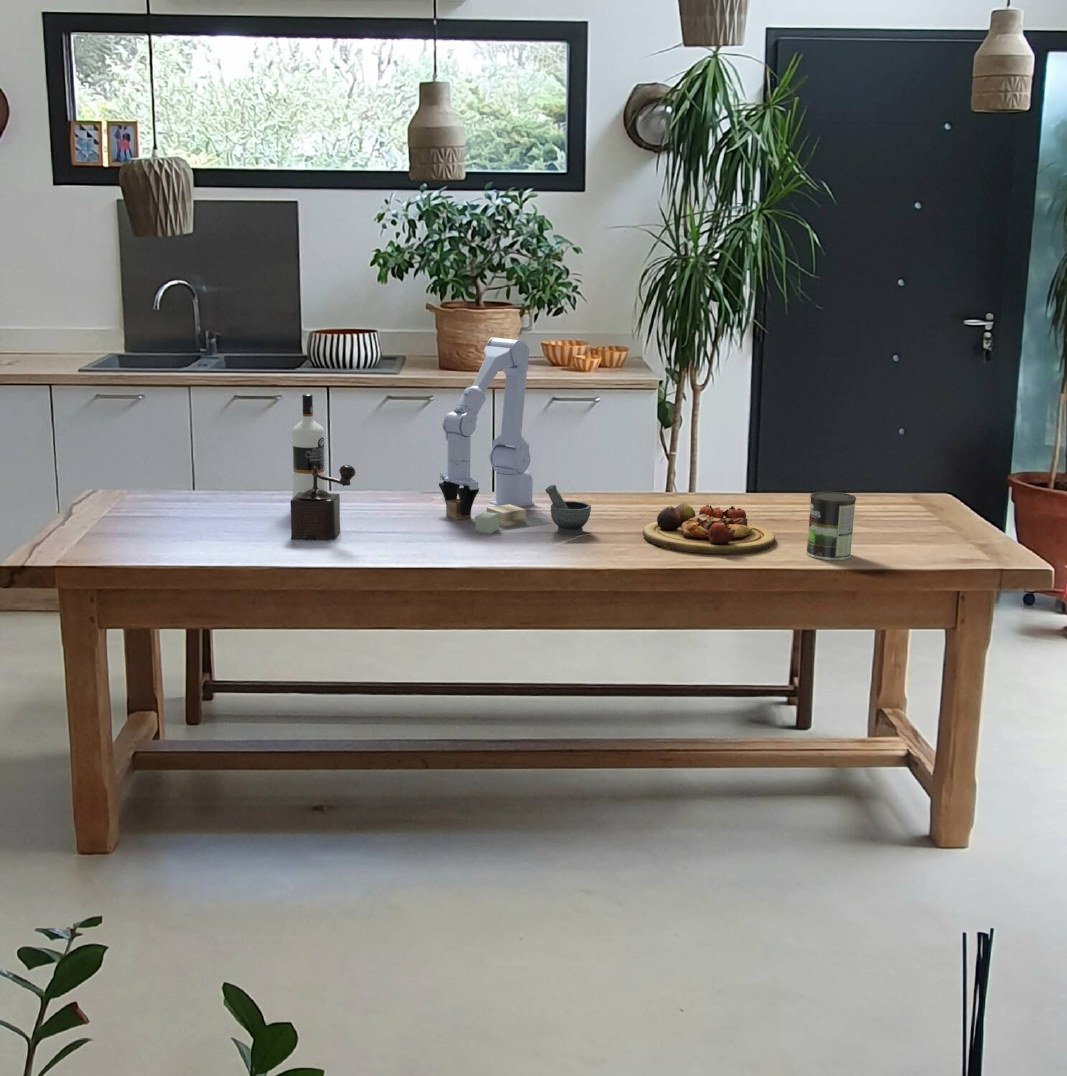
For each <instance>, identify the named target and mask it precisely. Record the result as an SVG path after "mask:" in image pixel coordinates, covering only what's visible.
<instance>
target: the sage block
mask: <svg viewBox="0 0 1067 1076" xmlns="http://www.w3.org/2000/svg"><path fill="white" fill-rule="evenodd" d="M474 519H475V523H476V526H475V531H476V532H479V533H485V534H492V533H495V532H494V531H496V530H498V529H499V522H498V513H490V512H487V511H484V512H481V513H479V514H476V515H474Z"/></svg>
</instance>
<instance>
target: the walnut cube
mask: <svg viewBox="0 0 1067 1076" xmlns="http://www.w3.org/2000/svg"><path fill="white" fill-rule="evenodd" d="M445 506H446V508H445V511H446V512H445V514H446V517H447V518H450V519H453V520H456V521H458V520H464V519H465V520H466V519H472V518H471V517H472V511H471V512H470V515H465V516H463V515H462V514H461V506H460V499H459V498H457V499H454V500H446V502H445Z"/></svg>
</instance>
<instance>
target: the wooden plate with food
mask: <svg viewBox="0 0 1067 1076" xmlns="http://www.w3.org/2000/svg"><path fill="white" fill-rule="evenodd" d="M698 512H699V513H698V514H696V512H695V509H694V508H693V507H692V506H691V505H689V504H687V503H686V502H682V503H680V504H679V505H677V506H675V507H674V506H673V505H669V506H667V507H665V508H662V510H661V511H660V512H659V513H658V515H657V517H656V521H652V522H650V523H649V524H648V523H647V525H645V526H644V527H643V529H642V536H643V538H644V539H646V540H647V542H649V543H651V544H654V545H657V546H659V547H663V548H667V549H670V550H671V549H672V550H676V551H680V552H681V551H682V552H689V553H699V554H715V555H717V554H718V555H732V554H733V555H735V554H736V555H737V554H739V555H741V554H751V553H756V552H762V551H764V550H767V549H769V548H771V547H773V546H774V545H775V543H776V535H775V534H774V533H773V532H772V531H770V530H769V529H768V528H765V527H762V526H759V525H755V524H751V523H750V522H748V518H747V514H746V513H747V512H746V511H745V510H744V509H741V507H740V508H739V507H738V508H735V506H733V505H732V506H731V505H730V507H729V508H726V509H725V510H724V511H723V509H721V508H720V507H715V508H713V507H712V505H709V504H706V505H704V506H701V507H700V509H699V511H698Z"/></svg>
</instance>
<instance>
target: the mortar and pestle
mask: <svg viewBox="0 0 1067 1076" xmlns="http://www.w3.org/2000/svg"><path fill="white" fill-rule="evenodd" d="M545 493H547V494H548V497H549V499H550V500H551V504H550V517H551V518H552V521H553V523H554V524H555V525H556V526H557V533H559V534H561V535H567V536H572V535H573V536H575V535H582V533H583V532H584V531H583V530H584V529H583V527H584V526H585V525H587V522H588V520H589V519H590V516H591V511H592V510H591V509H592V505H590V504H589V503H587V502H583V501H576V500H575V501H574V500H568V501H567V500H566V501H565V500H564V499H563V497H562V496H561V494H560V492H559V491H558V489H557V486H556V484H550V485H549V486H547V487H546V489H545Z"/></svg>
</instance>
